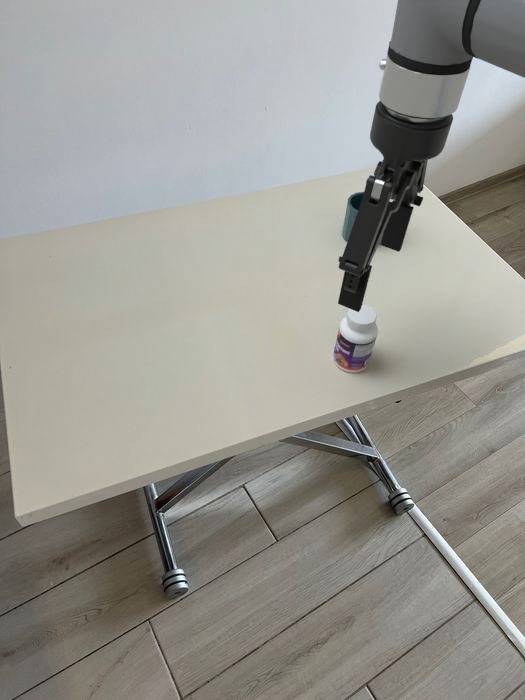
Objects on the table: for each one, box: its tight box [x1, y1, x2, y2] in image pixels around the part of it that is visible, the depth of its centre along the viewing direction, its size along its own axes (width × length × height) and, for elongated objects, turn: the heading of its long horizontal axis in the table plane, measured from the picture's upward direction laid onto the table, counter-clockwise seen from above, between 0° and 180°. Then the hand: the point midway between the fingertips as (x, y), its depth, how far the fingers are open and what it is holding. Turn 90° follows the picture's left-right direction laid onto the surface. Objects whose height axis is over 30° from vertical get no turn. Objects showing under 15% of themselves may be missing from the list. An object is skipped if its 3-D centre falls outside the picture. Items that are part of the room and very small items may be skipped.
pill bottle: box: [332, 303, 379, 374], centre depth 76 cm, size 5×5×10 cm
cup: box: [341, 191, 383, 244], centre depth 98 cm, size 8×8×7 cm
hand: (371, 275), depth 67 cm, fingers open, 13 cm apart
